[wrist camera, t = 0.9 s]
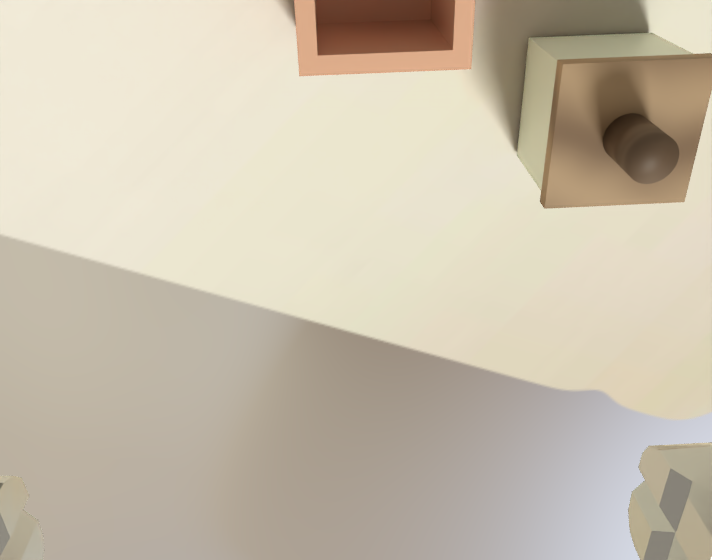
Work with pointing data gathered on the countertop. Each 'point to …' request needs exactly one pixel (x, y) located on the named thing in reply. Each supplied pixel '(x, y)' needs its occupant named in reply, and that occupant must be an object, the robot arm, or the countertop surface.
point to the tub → (543, 78)
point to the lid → (624, 129)
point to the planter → (383, 35)
